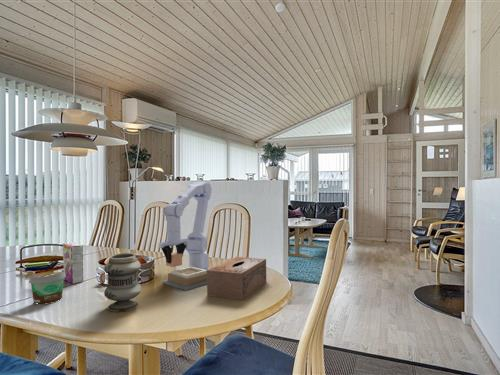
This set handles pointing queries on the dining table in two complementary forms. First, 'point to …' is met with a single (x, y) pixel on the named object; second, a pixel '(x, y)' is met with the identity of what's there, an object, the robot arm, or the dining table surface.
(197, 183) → the robot arm
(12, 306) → the dining table surface
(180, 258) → the terracotta cube
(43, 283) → the food container
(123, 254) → the apothecary jar
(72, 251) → the candy bar box
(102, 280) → the roller toy
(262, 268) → the tissue box cover
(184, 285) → the build base
